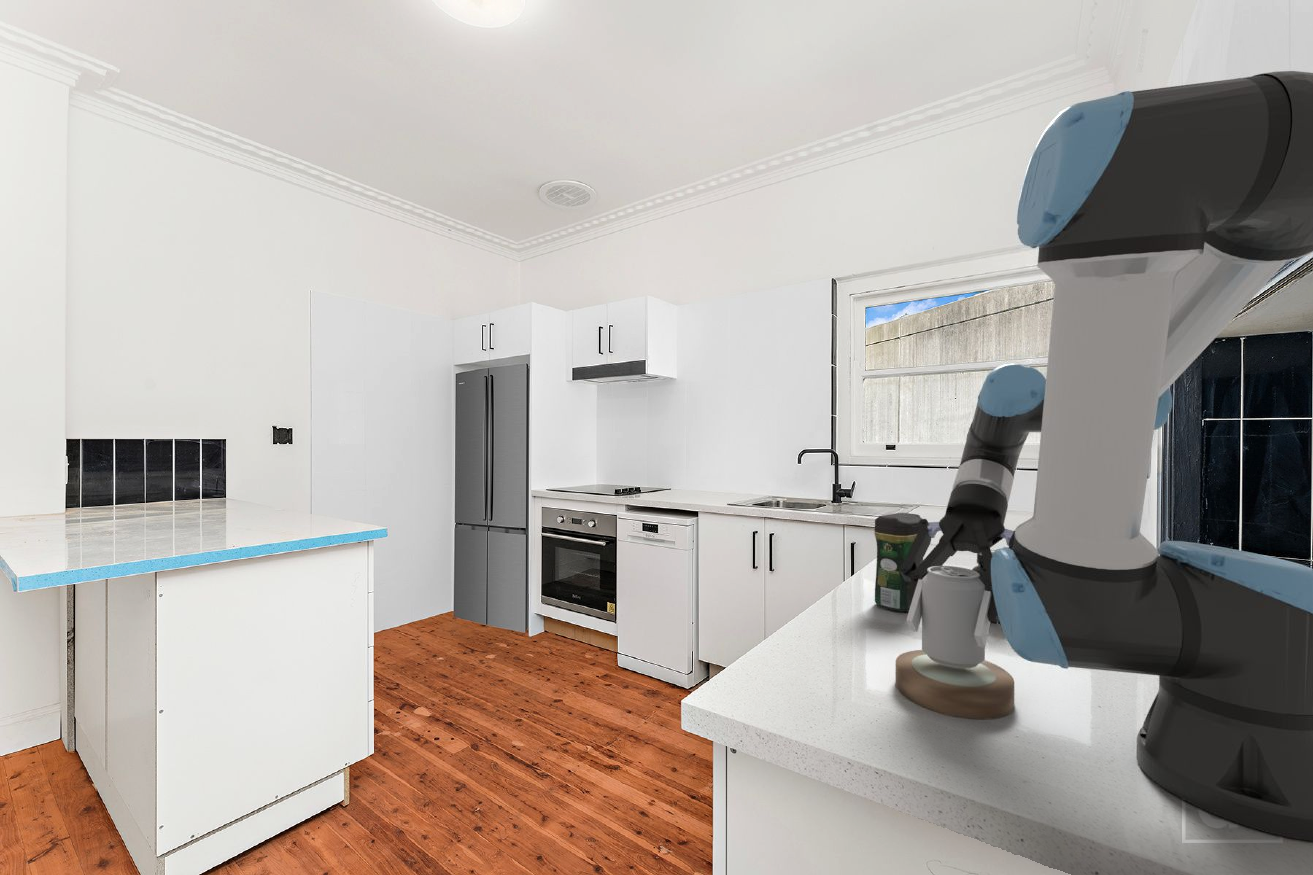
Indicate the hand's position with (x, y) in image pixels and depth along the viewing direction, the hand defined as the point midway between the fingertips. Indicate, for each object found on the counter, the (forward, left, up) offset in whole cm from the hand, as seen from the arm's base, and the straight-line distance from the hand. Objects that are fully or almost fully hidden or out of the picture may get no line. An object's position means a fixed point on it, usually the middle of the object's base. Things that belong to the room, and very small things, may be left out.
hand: (944, 633), depth 73 cm
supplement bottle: (+29, -29, -9) cm, 42 cm away
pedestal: (+2, -3, -9) cm, 10 cm away
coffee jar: (+38, -16, -9) cm, 42 cm away
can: (+2, -3, -5) cm, 6 cm away
